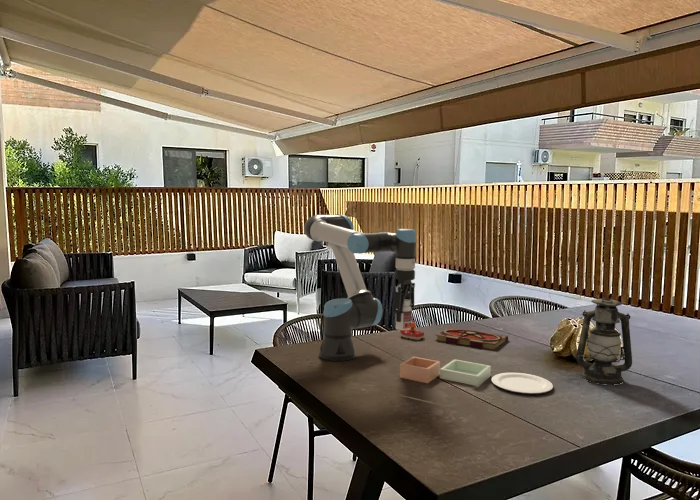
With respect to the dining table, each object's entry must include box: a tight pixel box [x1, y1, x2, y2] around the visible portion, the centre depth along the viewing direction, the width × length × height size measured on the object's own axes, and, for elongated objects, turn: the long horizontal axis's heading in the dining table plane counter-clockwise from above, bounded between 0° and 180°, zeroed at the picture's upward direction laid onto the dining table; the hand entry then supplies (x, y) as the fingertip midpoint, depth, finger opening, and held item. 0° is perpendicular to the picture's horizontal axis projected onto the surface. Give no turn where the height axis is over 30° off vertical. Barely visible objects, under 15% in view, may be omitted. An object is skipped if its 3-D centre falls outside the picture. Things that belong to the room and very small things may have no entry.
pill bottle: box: [394, 299, 413, 330], centre depth 203 cm, size 6×6×11 cm
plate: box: [491, 372, 554, 395], centre depth 185 cm, size 21×21×2 cm
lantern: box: [575, 298, 633, 386], centre depth 189 cm, size 19×19×30 cm
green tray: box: [439, 358, 492, 389], centre depth 191 cm, size 14×14×4 cm
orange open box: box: [399, 356, 441, 384], centre depth 191 cm, size 11×11×6 cm
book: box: [434, 327, 509, 352], centre depth 243 cm, size 28×21×5 cm
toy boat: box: [399, 321, 425, 341], centre depth 248 cm, size 8×12×8 cm, turn 56°
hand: (403, 327), depth 203 cm, fingers closed on pill bottle, 6 cm apart
